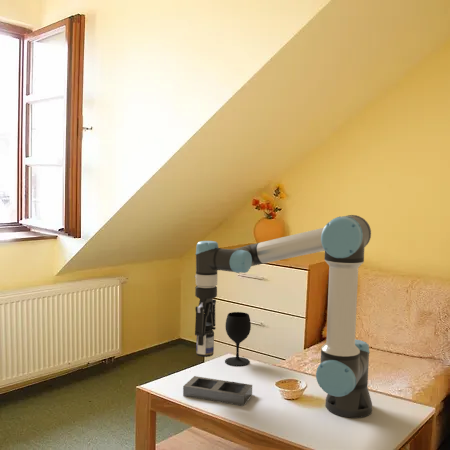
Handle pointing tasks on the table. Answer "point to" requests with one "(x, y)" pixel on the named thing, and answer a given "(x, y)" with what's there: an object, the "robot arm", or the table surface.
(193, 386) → the rectangular frame
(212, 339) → the pill bottle
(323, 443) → the table surface
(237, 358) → the wine glass
